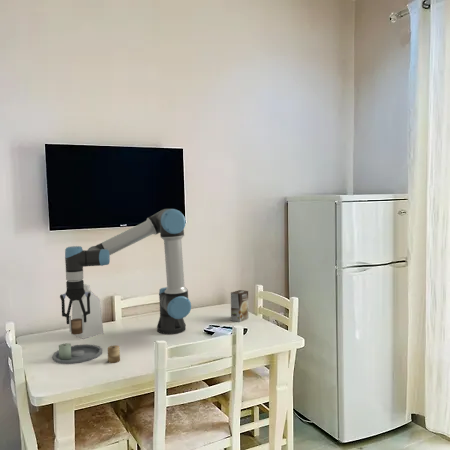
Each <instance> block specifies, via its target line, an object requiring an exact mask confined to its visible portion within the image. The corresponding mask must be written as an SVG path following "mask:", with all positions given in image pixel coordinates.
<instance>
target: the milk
mask: <svg viewBox="0 0 450 450" xmlns="http://www.w3.org/2000/svg"><path fill="white" fill-rule="evenodd" d="M90 287H91V286H90V285H89V284H86V283H84V290H85V292H90V293H91V295H90V314H88V315H86V322H84V330H83V333H81V334H76V335H74V334H72V335H73V336H75V337H77V338H80V339H82V340H84V339H88V338H91V337H92V338H93V337H96V336H99V335H103V334H104V325H103V315H102V304H101V303H102V302H101V299H100V297H99V296H98V295H96V294H95V293H94V292H92V290H91V288H90ZM82 301H83V305H84V308H85V311H87V297H86V295H85V294H84V295H83V297H82ZM82 315H83V312H82V309H81V305H80V302H79V300H75V301H72V305H71V320H72V319H77V318H80V319H82Z"/></svg>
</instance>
